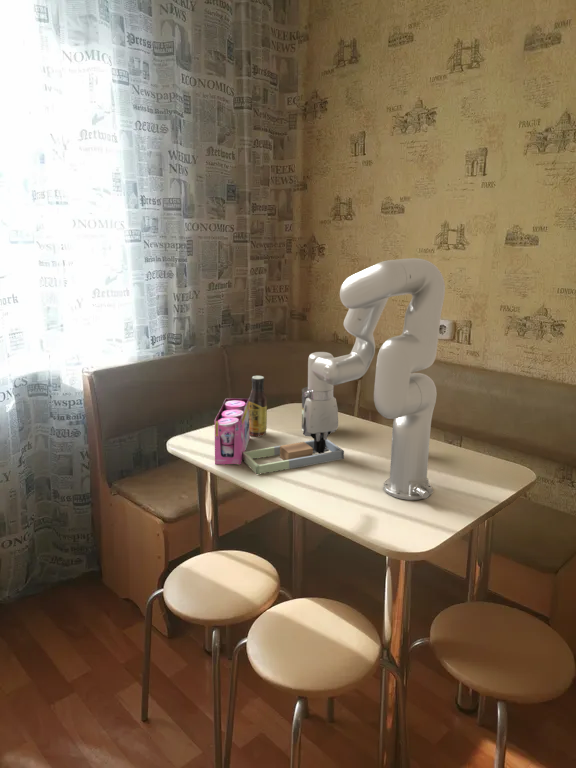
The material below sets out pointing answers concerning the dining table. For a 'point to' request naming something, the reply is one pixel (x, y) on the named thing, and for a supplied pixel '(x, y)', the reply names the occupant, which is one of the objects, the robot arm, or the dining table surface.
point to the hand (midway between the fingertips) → (319, 451)
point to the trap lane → (291, 463)
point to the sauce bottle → (257, 407)
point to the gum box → (232, 431)
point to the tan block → (295, 451)
